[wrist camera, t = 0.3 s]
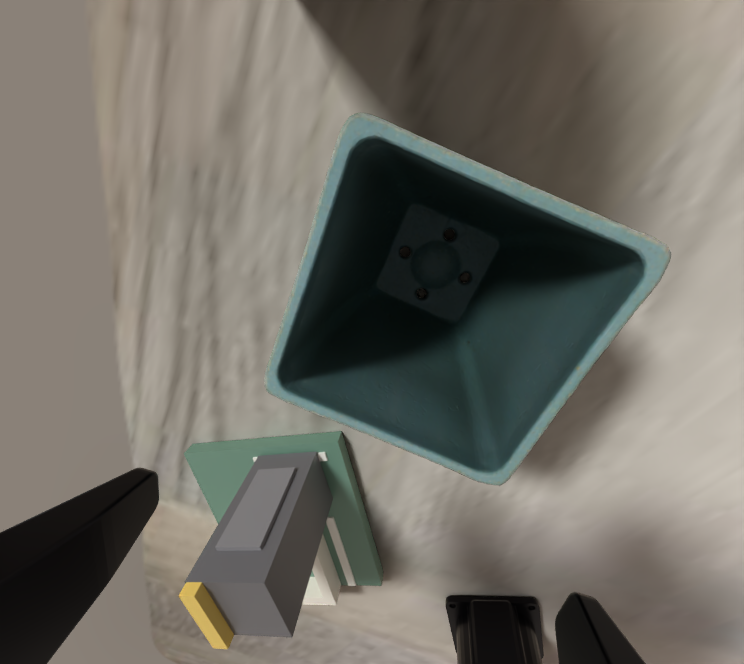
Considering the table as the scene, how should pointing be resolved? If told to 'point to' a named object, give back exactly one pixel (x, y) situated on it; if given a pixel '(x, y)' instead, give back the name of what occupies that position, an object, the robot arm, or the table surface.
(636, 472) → the table surface
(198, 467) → the header board
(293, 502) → the plug
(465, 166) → the flower pot
